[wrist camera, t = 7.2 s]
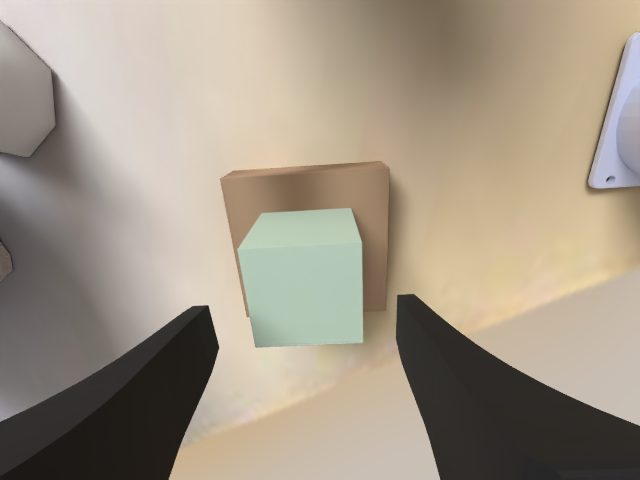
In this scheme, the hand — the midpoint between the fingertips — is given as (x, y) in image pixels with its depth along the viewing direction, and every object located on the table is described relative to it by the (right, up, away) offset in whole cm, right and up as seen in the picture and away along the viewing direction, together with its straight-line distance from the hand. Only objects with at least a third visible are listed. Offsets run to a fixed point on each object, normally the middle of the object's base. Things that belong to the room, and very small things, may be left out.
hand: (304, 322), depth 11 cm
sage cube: (0, +2, +6) cm, 7 cm away
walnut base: (0, +4, +9) cm, 10 cm away
